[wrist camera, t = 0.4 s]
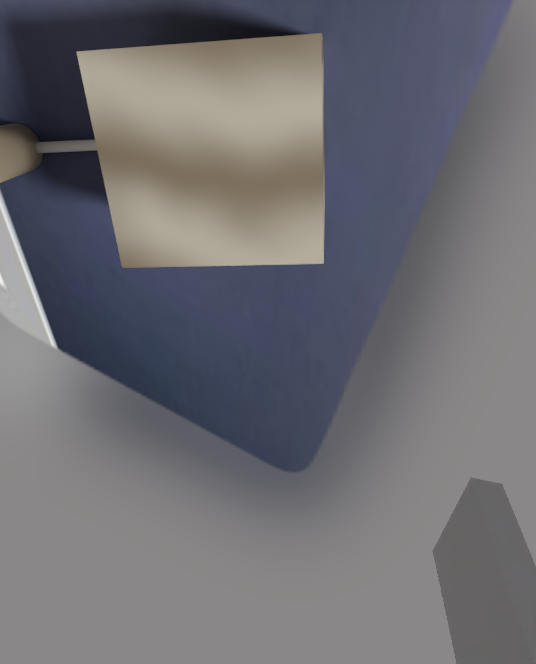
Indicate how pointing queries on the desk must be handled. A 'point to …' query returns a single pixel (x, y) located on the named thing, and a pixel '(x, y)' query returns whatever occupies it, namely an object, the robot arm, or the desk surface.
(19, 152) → the tan maraca
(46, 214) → the desk surface
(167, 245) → the small wooden stool
